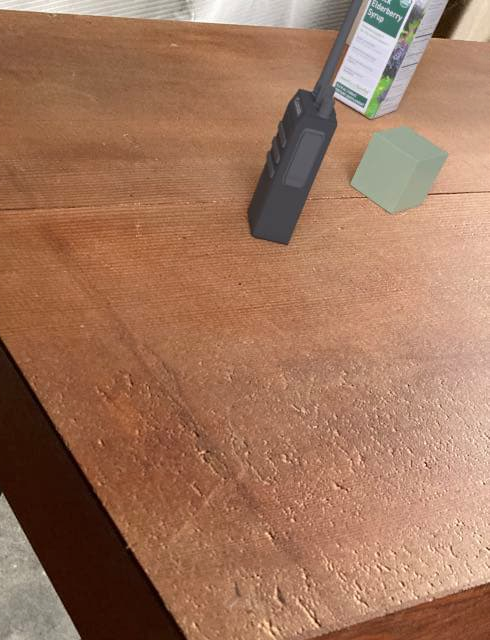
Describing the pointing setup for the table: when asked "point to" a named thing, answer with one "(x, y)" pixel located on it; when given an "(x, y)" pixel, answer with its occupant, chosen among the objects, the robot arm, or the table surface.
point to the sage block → (398, 169)
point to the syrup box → (385, 53)
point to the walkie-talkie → (298, 150)
